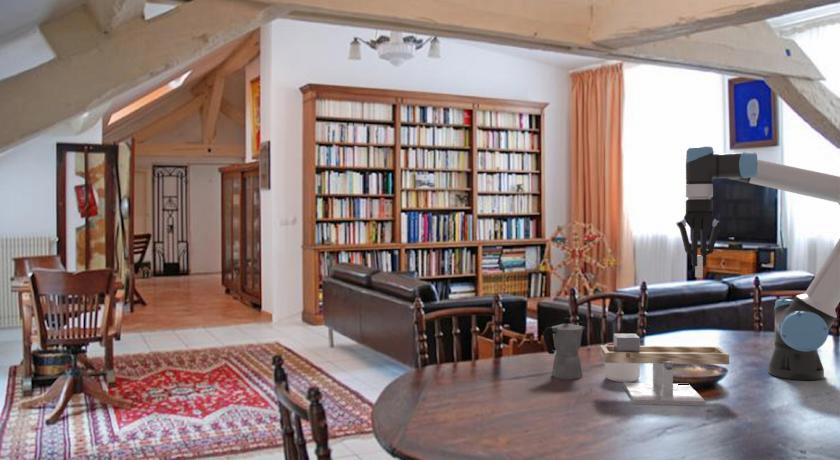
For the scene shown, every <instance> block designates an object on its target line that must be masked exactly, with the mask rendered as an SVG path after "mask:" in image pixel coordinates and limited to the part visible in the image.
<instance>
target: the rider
mask: <svg viewBox="0 0 840 460" xmlns="http://www.w3.org/2000/svg"><path fill="white" fill-rule="evenodd" d="M640 341H641V340H640V336H639V335H637V333H613V343H614V352H640V346H641V343H640Z"/></svg>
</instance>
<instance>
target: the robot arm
mask: <svg viewBox="0 0 840 460" xmlns="http://www.w3.org/2000/svg"><path fill="white" fill-rule="evenodd" d="M714 179H728V180H731V181H739V182H743V183H747V184H752V185H757V186H762V187H765V188H766V187H767V188H771V189H775V190H779V191H784V192H788V193H794V194H797V195H802V196H807V197H812V198H816V199H820V200H824V201H829V202H834V203H837V204H838V205H839V206H840V176H839V175H835V174H834V175H833V174H829V173H824V172H819V171H815V170H809V169H806V168H805V169H804V168H799V167H795V166H789V165H785V164H780V163H776V162H770V161H766V160H763V159H762V160H761V159H758V154H757V152H753V151H751V152H750V151H739V152H720V153H719V152H714V148H713V147H712V146H693V147H689V148H688V149H686V158H685V198H687V199H686V200H685V215H684V217H683V218H682V220H680V221H677V222H676V226H677V227H678V229H679V231H680V235H681V239H682V242H683V244H682V245H683V248H684V251H685V253H686V254H688V255H691V265H692V267H694V277H695V278H697V279H699V278H701V279H702V278H703V273H704V271H703V269H704V268H703V267H706V266H707V256H708V255H710V254H712V253H713V252H714V249H715V244H716V240H717V238H718V233H719V231H720V230H719V229H720V228H721V227H722V225H723V222H722V221H719V220H717V219H716V218H715V215H714V212H713V211H714V210H713V207H714V206H713V205H714V204H713V203H714V200H713V199H712V198H713V197H714V187H713V186H714ZM687 225H688V226H689V228H690V232H691V242H690V241H689V236H688V233H687V232H688V231H687V228H686V227H687ZM711 225H712V227H711V228H712V229H711V231H710V236H709V240H708V239H707V237H708V235H707V234H708V229H709V228H710V226H711ZM699 233H700V237H699ZM699 238H700V241H699V242H700V244H698V243H699V242H698V240H699ZM707 241H708V242H707ZM690 243H691V244H690ZM707 243H708V244H707ZM698 245H700V246H698ZM698 247H700V249H698ZM698 250H700V252H699V251H698ZM699 253H700V255H698V254H699ZM774 303H775V305H774V307H773V311H774V348H773V350H772V354H771V357H770V359H769V361H768V365H767V373H768V374H770V375H772V376H774V377H778V378H782V379H783V378H784V379H787V380H795V381H797V380H798V381H817V380H822V379H824V378H825V368H824V365H823V364H822V360H821V357H820V355H819V352H818V351H819V350H818V349H819V348H822V347H823V346H824V344H825V342H827V339H828V337H829V331H830V329H831V328H832V326H833V324H834V323H835V321H836V320H837V317H838V315H837V312H836V309H837V307H838V305H839V303H840V238H839V239H838V241H837V243H836V244H835V245H834V247H833V249H832V250H831V252H830V253H829V254H828V256H827V258H826V259H825V261H824V263H823V264H822V266H821V267H820V269H819V270H818V271H817V273H816V275H815V277H814V278H813V280H812V281H811V283H810V284H809V285H808V287H807V289H806V291H805V292H803V293H800V294H797V295H795V297H794V298H793V299H784V298H783V299H781V298H779V299H777V300H775V302H774Z"/></svg>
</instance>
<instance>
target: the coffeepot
mask: <svg viewBox="0 0 840 460" xmlns="http://www.w3.org/2000/svg"><path fill="white" fill-rule="evenodd" d="M563 320H564V323H561V324H557V325H553V326H550V327H549V326H547V327H546V328H545V329H544V331H543V332H542V337H543V341H544V343H545V347H546V350H547V354H549V355H553V354H554V358H553V359H554V360H553V364H552V372H551V376H553V378H556V379H559V380H578V379H580V378H582V377H583V370H582V364H581V360H580V356H579V350H580V348H581V342H582V336H583V331H584V330H585V328H586V327H585V326H582V325H577V324H572V323H570V318H569V317H564V319H563ZM549 334H552V338H553V344H554V348H555V350H552V344H551V342H550V337H549Z"/></svg>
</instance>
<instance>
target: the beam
mask: <svg viewBox="0 0 840 460" xmlns="http://www.w3.org/2000/svg"><path fill="white" fill-rule="evenodd" d="M599 346H600V348H599V349H600V351H599V352H600V356H601V358H602V360H603V362H604V364H605V363H640V364H653V363H659V364H662V360H672V361H673V365H674V364H675V365H679V364H681V365H730V354H729V353H728V352H727V351H725V350H724V349H722V348H721V347H720V346H692V345H691V346H686V345H685V346H682V345H681V346H680V345H679V346H677V345H673V346H671V345H640V352H614V346H605V345H603V344H602V345H599Z"/></svg>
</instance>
